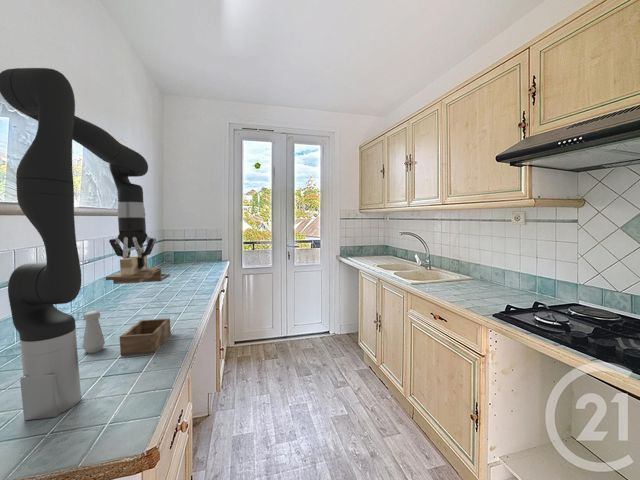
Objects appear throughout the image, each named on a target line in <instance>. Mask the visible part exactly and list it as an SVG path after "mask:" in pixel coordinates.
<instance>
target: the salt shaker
mask: <svg viewBox="0 0 640 480" xmlns="http://www.w3.org/2000/svg"><path fill="white" fill-rule="evenodd" d="M100 318H101V313H100V311H99V310H90V311H87V312H85V313H84V314H83V320H84V321H85V327H84V333H83V334H84V335H83V340H82V348H83V350H84V352H85V353H86V354H94V353H99V352H100V351H102V350H103V348H104V347H105V346H104V345H105V341H106V340H105V338H104V334H103V331H102V328H101V324H100V320H99V319H100Z"/></svg>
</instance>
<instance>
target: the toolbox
mask: <svg viewBox="0 0 640 480" xmlns="http://www.w3.org/2000/svg"><path fill="white" fill-rule="evenodd" d="M171 331H172V330H171V318H160V319H159V318H158V319H157V318H156V319H154V318H153V319H143V320H142V319H141V320H139V321H138V322H136V323H135V324H134V325H133V326H132V327H130V328H129V329H128V330H126V331H124V332H123V334H121V335H120V336H119V349H120V351H119V352H120V356H129V355H131V356H132V355H143V354H144V355H145V354H154V353H156V352H157V351H158V350H159V348H161V346H162V345H163V344H164V343H165V341H166V340H167V339H168V338H169V337H170V336H171Z"/></svg>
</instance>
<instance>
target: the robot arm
mask: <svg viewBox="0 0 640 480" xmlns="http://www.w3.org/2000/svg"><path fill="white" fill-rule="evenodd" d="M0 94H1V96H2V98H3V99H4V100H5V102H6V103H8V105H10V106H11V107H12V108H14V109H15V110H17V111H18V112H20V113H22V115H23V114H24V115H25V116H27V117H29V118H31V119H33V120H35V121H37V122H38V123H37V129H36V133H35V136H34V138H33V140H32V142H31V143H30V145H29V147H28V148H27V150H26V151H25V153H24V154H23V156H22V158H21V160H20V162H19V164H18V166H17V169H16V173H15V179H16V181H15V182H16V185H15V186H16V198H17V204H18V206H19V208H20V209H21V211H22V213H23V215H24V216H25V217H26V218H27V220H28V221H29V222H30V224H31V225H32V226H33V227H34V229H35V230H36V232H38V234H39V237H41V239H42V242H43V245H44V249H45V257H46V262H32V263H31V262H30V263H24V264H21V265H19V266H18V267H17V268H15V269H14V270H13V271H12V273H11V274H10V277H9V279H8V285H7V294H8V295H7V296H8V300H9V301H8V302H9V306H10V312H11V318H12V323H13V327H14V328H15V330H16V331H17V332H18V334H19V341H20V357H21V365H22V375H23V376H21V377H20V379H19V380H20V393H21V401H22V402H21V403H22V411H23V420H24V421H30V420H39V419H47V418H56V417H58V416H59V415H61V414H62V413H64V412H66V411H68V410H70V409H72V408H73V407H74V406H76V405H77V404H79V402H80V401H81V399H82V391H81V390H82V389H81V378H80V367H79V356H78V355H79V354H78V353H79V351H78V344H77V343H78V341H77V329H76V327H77V325H76V318H75V316H73V315H71V314H68V313H66V312H63V311H61V310H59V309H58V308H57V307H56V306H55V305H63V304H65V305H66V304H68V303H71V302H73V301H74V300H75V299H77V297H78V296H79V293H80V291H81V288H82V268H81V262H80V256H79V251H78V244H77V238H76V237H77V236H76V225H75V189H74V187H75V186H74V184H75V183H74V175H73V141H74V142H76V143H77V144H78V145H81V146H82V147H83V148H86V149H87V150H88V151H89V152H91V153H92V154H93V155H95V156H96V157H97V158H99V159H100V160H101V161H104V162H105V163H107V164H108V165H109V166H108V167H109V168H108V169H109V171H110V173H111V176H112V179H113V181H114V184H115V187H116V191H117V222H118V225H117V226H118V235H117V237H115V238H112V239H111V238H110V239H109V240H108V241H109V244H110V246H111V248H112V249H113V251H114V253H115V254H116V256H117V257H122V259H124V258H128V257H131V253H132V250H133V248H134V249H135V251H136V254H137V255H138V269H142V268H143V267H144V265H145V261H144V257H145V256H147V257H148V255H149V256H150V255H151V254H152V251H153V248H154V246H155V244H156V242H157V239H156V237H155V238H154V237H150V236H148V234H147V227H146V226H147V225H146V224H147V223H146V210H145V205H144V189H143V187H142V186H141V185H140V184H137V183H136V184H135V183H132V182H131V180H130V179H129V178H130V177H133V178H134V177H143V176H145V175H146V174H147V173H148V170H149V164H148V162H147V159H146V158H145V157H144V156H143V155H141V153H140V152H137V151H136V150H135V149H131V148H130V147H128V146H126V145H124V144H122V143H120V142H119V140H117V139H116V138H115V137H114V136H113V135H112V134H110V133H109V132H108V131H106V130H105V129H103V128H102V127H99V126H97V125H96V124H94V123H92V122H89V121H88V120H85V119H83V118H80V117H79V116H76V115H75V113H76V99H75V93H74V90H73V87H72V85H71V83H70V81H69V80H68V78H67V77H66V76H65V74H63V73H62V72H61V71H58V70H57V69H53V68H47V67H22V68H20V67H17V68H16V67H15V68H7V69H5V70H1V72H0ZM145 242H146V247H145V246H144V243H145ZM120 243H121V244H122V246H121V245H120Z"/></svg>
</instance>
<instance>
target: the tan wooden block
mask: <svg viewBox="0 0 640 480" xmlns="http://www.w3.org/2000/svg"><path fill="white" fill-rule="evenodd" d="M144 261H145V265H144V267H143V268H142V269H138V254H137V255H132V256H130V257H128V258H122V259H119V266H120V267H119V268H120V271H119V272H117V273H112V274H111V275H108V276H105V281H112V282H113V285H123V284H139V283H154V282H158V283H159V282H162V281H164V280H166V279H167V278H170V277H171V273H162V267H160V266H159V267H148V255H147V256H145V257H144Z"/></svg>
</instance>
